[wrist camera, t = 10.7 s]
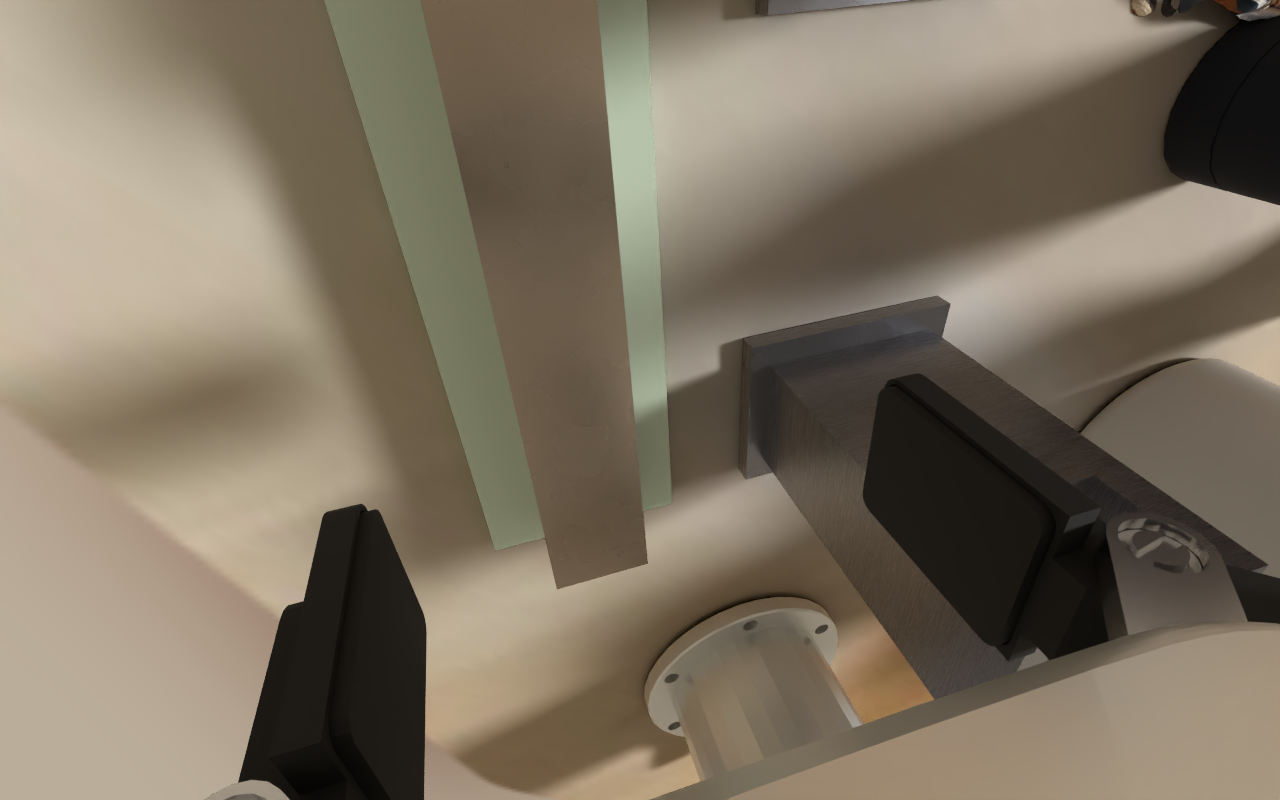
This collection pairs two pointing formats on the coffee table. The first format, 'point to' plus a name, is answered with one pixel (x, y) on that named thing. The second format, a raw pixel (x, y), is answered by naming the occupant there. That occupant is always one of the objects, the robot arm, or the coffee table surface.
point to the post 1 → (808, 5)
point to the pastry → (1249, 3)
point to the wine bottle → (1232, 115)
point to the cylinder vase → (1205, 446)
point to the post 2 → (838, 454)
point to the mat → (448, 254)
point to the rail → (550, 259)
